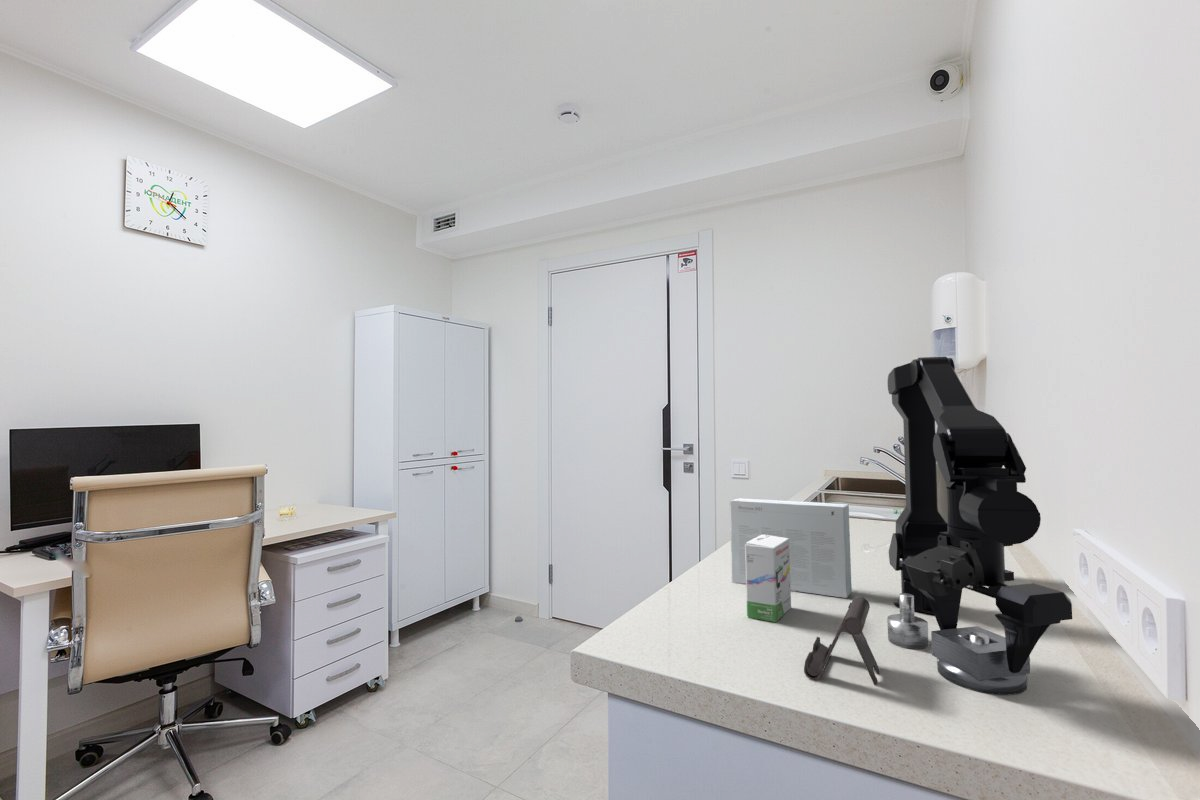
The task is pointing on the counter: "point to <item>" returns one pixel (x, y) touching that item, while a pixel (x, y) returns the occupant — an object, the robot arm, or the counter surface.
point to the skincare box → (797, 541)
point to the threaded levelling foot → (907, 626)
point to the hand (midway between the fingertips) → (979, 655)
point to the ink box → (768, 577)
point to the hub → (990, 686)
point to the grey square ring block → (974, 653)
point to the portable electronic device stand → (850, 625)
